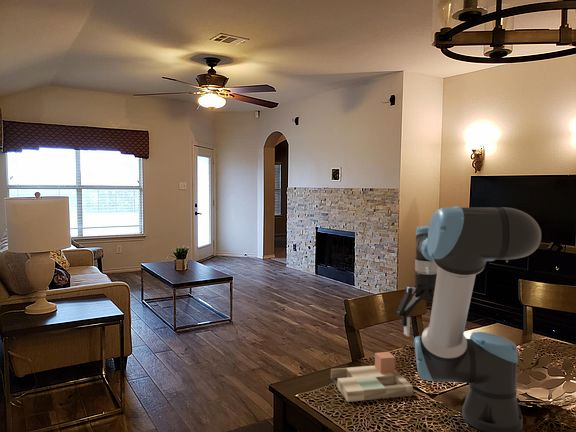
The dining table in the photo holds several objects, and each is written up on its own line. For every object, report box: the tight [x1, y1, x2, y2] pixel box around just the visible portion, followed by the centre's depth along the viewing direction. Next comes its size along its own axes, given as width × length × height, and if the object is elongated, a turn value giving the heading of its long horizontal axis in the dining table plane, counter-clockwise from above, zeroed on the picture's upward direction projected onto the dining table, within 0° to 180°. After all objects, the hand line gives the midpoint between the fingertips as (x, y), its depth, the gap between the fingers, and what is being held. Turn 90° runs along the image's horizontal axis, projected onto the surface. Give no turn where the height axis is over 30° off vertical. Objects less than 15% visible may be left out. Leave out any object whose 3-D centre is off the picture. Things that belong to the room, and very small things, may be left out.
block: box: [374, 351, 396, 373], centre depth 147 cm, size 5×5×5 cm
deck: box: [330, 364, 414, 403], centre depth 141 cm, size 17×21×3 cm
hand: (425, 333), depth 149 cm, fingers open, 13 cm apart
